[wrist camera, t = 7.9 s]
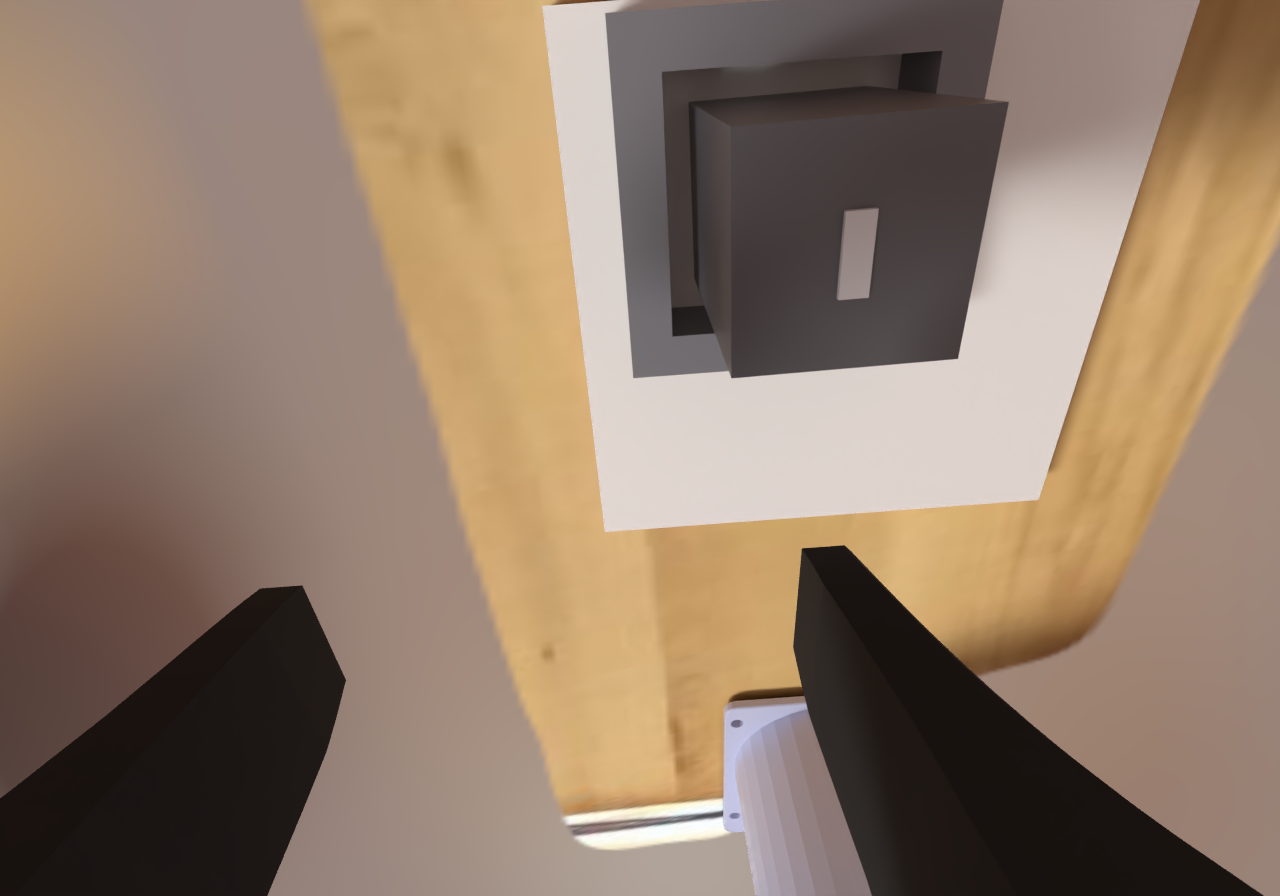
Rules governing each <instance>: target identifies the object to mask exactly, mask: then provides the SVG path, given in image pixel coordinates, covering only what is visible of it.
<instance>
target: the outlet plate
mask: <svg viewBox="0 0 1280 896" xmlns="http://www.w3.org/2000/svg"><path fill="white" fill-rule="evenodd" d="M1199 2H1200V0H615V1H601V2H588V3H575V4H562V5H549V6H542V7H543V15H544V24H545V32H546V41H547V49H548V57H549V66H550V74H551V83H552V91H553V99H554V108H555V116H556V125H557V133H558V141H559V150H560V158H561V167H562V175H563V183H564V192H565V200H566V209H567V217H568V225H569V234H570V242H571V251H572V259H573V267H574V276H575V284H576V293H577V301H578V309H579V318H580V326H581V335H582V343H583V351H584V360H585V368H586V377H587V385H588V394H589V402H590V410H591V419H592V427H593V436H594V444H595V452H596V461H597V469H598V478H599V486H600V494H601V503H602V511H603V520H604V528H605V532H610V531H624V530H637V529H651V528H664V527H678V526H691V525H705V524H718V523H732V522H745V521H759V520H772V519H786V518H799V517H813V516H826V515H840V514H853V513H867V512H880V511H894V510H907V509H921V508H934V507H948V506H961V505H975V504H989V503H1002V502H1016V501H1029V500H1039V497H1040V494H1041V491H1042V487H1043V484H1044V481H1045V478H1046V475H1047V472H1048V469H1049V466H1050V463H1051V460H1052V457H1053V453H1054V450H1055V447H1056V444H1057V441H1058V438H1059V435H1060V432H1061V429H1062V426H1063V423H1064V419H1065V416H1066V413H1067V410H1068V407H1069V404H1070V401H1071V398H1072V395H1073V392H1074V389H1075V385H1076V382H1077V379H1078V376H1079V373H1080V370H1081V367H1082V364H1083V361H1084V358H1085V355H1086V351H1087V348H1088V345H1089V342H1090V339H1091V336H1092V333H1093V330H1094V327H1095V324H1096V321H1097V317H1098V314H1099V311H1100V308H1101V305H1102V302H1103V299H1104V296H1105V293H1106V290H1107V287H1108V283H1109V280H1110V277H1111V274H1112V271H1113V268H1114V265H1115V262H1116V259H1117V256H1118V253H1119V249H1120V246H1121V243H1122V240H1123V237H1124V234H1125V231H1126V228H1127V225H1128V222H1129V219H1130V215H1131V212H1132V209H1133V206H1134V203H1135V200H1136V197H1137V194H1138V191H1139V188H1140V185H1141V181H1142V178H1143V175H1144V172H1145V169H1146V166H1147V163H1148V160H1149V157H1150V154H1151V151H1152V147H1153V144H1154V141H1155V138H1156V135H1157V132H1158V129H1159V126H1160V123H1161V120H1162V117H1163V113H1164V110H1165V107H1166V104H1167V101H1168V98H1169V95H1170V92H1171V89H1172V86H1173V83H1174V79H1175V76H1176V73H1177V70H1178V67H1179V64H1180V61H1181V58H1182V55H1183V52H1184V49H1185V45H1186V42H1187V39H1188V36H1189V33H1190V30H1191V27H1192V24H1193V21H1194V18H1195V15H1196V12H1197V8H1198V5H1199ZM859 86H873V87H882V88H891V89H900V90H909V91H917V92H926V93H935V94H944V95H953V96H962V97H971V98H979V99H988V100H997V101H1006V102H1009V104H1008V110H1007V115H1006V120H1005V125H1004V130H1003V135H1002V140H1001V145H1000V150H999V155H998V160H997V165H996V170H995V175H994V180H993V185H992V190H991V195H990V200H989V205H988V210H987V215H986V220H985V225H984V230H983V235H982V241H981V246H980V251H979V256H978V261H977V266H976V271H975V276H974V281H973V286H972V291H971V296H970V301H969V306H968V311H967V316H966V321H965V326H964V331H963V336H962V341H961V346H960V351H959V356H958V359H952V360H940V361H929V362H917V363H905V364H894V365H882V366H871V367H859V368H847V369H836V370H824V371H812V372H801V373H789V374H777V375H766V376H754V377H743V378H731V376H730V373H729V371H728V368H727V365H726V363H725V360H724V357H723V354H722V352H721V349H720V346H719V344H718V341H717V338H716V336H715V333H714V330H713V327H712V325H711V322H710V319H709V317H708V314H707V311H706V309H705V306H704V303H703V300H702V298H701V295H700V292H699V290H698V287H697V284H696V282H695V279H694V254H693V224H692V193H691V163H690V133H689V102H692V101H704V100H715V99H726V98H737V97H748V96H759V95H770V94H781V93H793V92H804V91H815V90H826V89H837V88H848V87H859Z"/></svg>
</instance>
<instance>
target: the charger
mask: <svg viewBox="0 0 1280 896" xmlns="http://www.w3.org/2000/svg"><path fill="white" fill-rule="evenodd" d="M1008 104H1009V102H1006V101H997V100H988V99H979V98H971V97H962V96H953V95H944V94H935V93H926V92H917V91H909V90H900V89H891V88H882V87H873V86H859V87H848V88H837V89H826V90H815V91H804V92H793V93H781V94H770V95H759V96H748V97H737V98H726V99H715V100H704V101H692V102H689V133H690V163H691V193H692V224H693V254H694V279H695V282H696V284H697V287H698V290H699V292H700V295H701V298H702V300H703V303H704V306H705V309H706V311H707V314H708V317H709V319H710V322H711V325H712V327H713V330H714V333H715V336H716V338H717V341H718V344H719V346H720V349H721V352H722V354H723V357H724V360H725V363H726V365H727V368H728V371H729V373H730V376H731V378H743V377H754V376H766V375H777V374H789V373H801V372H812V371H824V370H836V369H847V368H859V367H871V366H882V365H894V364H905V363H917V362H929V361H940V360H952V359H958V356H959V351H960V346H961V341H962V336H963V331H964V326H965V321H966V316H967V311H968V306H969V301H970V296H971V291H972V286H973V281H974V276H975V271H976V266H977V261H978V256H979V251H980V246H981V241H982V235H983V230H984V225H985V220H986V215H987V210H988V205H989V200H990V195H991V190H992V185H993V180H994V175H995V170H996V165H997V160H998V155H999V150H1000V145H1001V140H1002V135H1003V130H1004V125H1005V120H1006V115H1007V110H1008Z"/></svg>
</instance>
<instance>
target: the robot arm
mask: <svg viewBox="0 0 1280 896" xmlns="http://www.w3.org/2000/svg"><path fill="white" fill-rule="evenodd" d="M793 648H794V653H795V657H796V662H797V666H798V671H799V675H800V680H801V684H802V688H803V692H804V696H796V697H782V698H768V699H755V700H741V701H733V702H730V703H728V704H727V705H726V706H725V708H724V765H723V823H724V828H725V830H727V831H729V832H745V837H746V843H747V849H748V855H749V861H750V867H751V872H752V878H753V884H754V890H755V896H1263V895H1262V894H1260V893H1259V892H1258V891H1256V890H1255V889H1253V888H1251V887H1250V886H1249V885H1247V884H1246V883H1244V882H1243V881H1242V880H1240V879H1239V878H1237V877H1236V876H1234V875H1233V874H1231V873H1230V872H1228V871H1227V870H1225V869H1224V868H1222V867H1221V866H1220V865H1218V864H1217V863H1215V862H1214V861H1212V860H1211V859H1209V858H1208V857H1206V856H1205V855H1204V854H1202V853H1200V852H1199V851H1198V850H1196V849H1195V848H1193V847H1192V846H1190V845H1189V844H1187V843H1186V842H1184V841H1183V840H1182V839H1180V838H1179V837H1177V836H1176V835H1174V834H1173V833H1171V832H1170V831H1169V830H1167V829H1166V828H1165V827H1163V826H1162V825H1161V824H1159V823H1158V822H1156V821H1155V820H1154V819H1152V818H1151V817H1149V816H1148V815H1147V814H1145V813H1144V812H1143V811H1141V810H1140V809H1138V808H1137V807H1136V806H1134V805H1133V804H1132V803H1130V802H1129V801H1128V800H1126V799H1125V798H1124V797H1122V796H1121V795H1120V794H1119V793H1117V792H1116V791H1115V790H1113V789H1112V788H1111V787H1109V786H1108V785H1107V784H1106V783H1104V782H1103V781H1101V780H1100V779H1099V778H1098V777H1096V776H1095V775H1094V774H1092V773H1091V772H1090V771H1089V770H1087V769H1086V768H1085V767H1083V766H1082V765H1081V764H1080V763H1078V762H1077V761H1076V760H1074V759H1073V758H1072V757H1071V756H1069V755H1068V754H1067V753H1066V752H1064V751H1063V750H1062V749H1060V747H1058V746H1057V745H1056V744H1054V743H1053V742H1052V741H1051V740H1049V739H1048V738H1047V737H1046V736H1045V735H1044V734H1043V733H1041V732H1040V731H1039V730H1038V729H1036V728H1035V727H1034V726H1033V725H1032V724H1031V723H1029V722H1028V721H1027V720H1026V719H1025V718H1024V717H1023V716H1021V715H1020V714H1019V713H1018V712H1017V711H1016V710H1014V709H1013V708H1012V707H1011V706H1010V705H1009V704H1007V703H1006V702H1005V701H1004V700H1003V699H1002V698H1001V697H999V696H998V695H997V694H996V693H995V692H994V691H993V690H991V689H990V688H989V687H988V686H987V685H986V684H985V683H984V682H983V681H982V680H980V679H979V678H978V677H977V676H976V675H975V674H974V673H973V672H972V671H971V670H969V669H968V668H967V667H966V666H965V665H964V664H963V663H962V662H961V661H960V660H959V659H958V658H957V657H956V656H955V655H954V654H953V653H952V652H950V651H949V650H948V649H947V648H946V647H945V646H944V645H943V644H942V643H941V642H940V641H939V640H938V639H937V638H936V637H935V636H934V635H933V634H932V633H930V632H929V631H928V630H927V629H926V628H925V627H924V626H923V625H922V624H921V623H920V622H919V621H918V620H917V619H916V618H915V617H914V616H913V615H912V614H911V613H910V612H909V611H908V610H907V609H906V608H905V607H904V606H903V605H902V604H901V603H900V602H899V601H898V600H897V599H896V598H895V596H894V595H893V594H892V593H891V592H890V591H889V590H888V589H887V588H886V587H885V586H884V585H883V584H882V583H881V582H880V581H879V580H878V579H877V578H876V577H875V576H874V575H873V574H872V573H871V572H870V571H869V570H868V568H867V567H866V566H865V565H864V564H863V563H862V562H861V561H860V560H859V559H858V558H857V557H856V556H855V555H854V554H853V553H852V552H851V551H850V550H849V549H848V548H847V547H846V546H845V545H844V546H830V547H817V548H803V549H802V554H801V566H800V577H799V588H798V599H797V611H796V622H795V633H794V645H793ZM345 682H346V679H345V677H344V675H343V673H342V671H341V669H340V666H339V664H338V662H337V660H336V658H335V656H334V653H333V651H332V649H331V647H330V645H329V643H328V640H327V638H326V636H325V634H324V632H323V629H322V627H321V625H320V623H319V621H318V619H317V616H316V614H315V612H314V610H313V608H312V606H311V603H310V602H309V599H308V597H307V595H306V593H305V590H304V589H303V586H289V587H278V588H277V587H276V588H262V589H259V590H258V591H257V592H255V593H254V594H253V595H251V596H250V597H249V598H247V599H246V600H245V601H243V602H242V603H241V604H240V605H238V606H237V607H236V608H235V609H233V610H232V611H231V612H230V613H229V614H227V615H226V616H225V617H224V618H222V619H221V620H220V621H219V622H218V623H216V624H215V625H214V626H213V627H212V628H210V629H209V630H208V631H207V632H206V633H204V634H203V635H202V636H201V637H200V638H199V639H197V640H196V641H195V642H194V643H192V644H191V645H190V646H189V647H188V648H186V649H185V650H184V651H183V652H182V653H181V654H179V655H178V656H177V657H176V658H175V659H173V660H172V661H171V662H170V663H169V664H168V665H166V666H165V667H164V668H163V669H162V670H160V671H159V672H158V673H157V674H156V675H154V676H153V677H152V678H151V679H150V680H148V681H147V682H146V683H145V684H143V685H142V686H141V687H140V688H139V689H137V690H136V691H135V692H134V693H133V694H131V695H130V696H129V697H128V698H127V699H126V700H124V701H123V702H122V703H121V704H119V705H118V706H117V707H116V708H115V709H113V710H112V711H111V712H110V713H108V715H106V716H105V717H104V718H102V719H101V720H100V721H99V722H97V723H96V724H95V725H94V726H92V727H91V728H90V729H88V730H87V731H86V732H85V733H83V734H82V735H81V736H79V737H78V738H77V739H76V740H74V741H73V742H72V743H71V744H69V745H68V746H67V747H65V748H64V749H63V750H62V751H60V752H59V753H58V754H57V755H55V756H54V757H53V758H52V759H50V760H49V761H48V762H46V763H45V764H44V765H43V766H41V767H40V768H39V769H37V770H36V771H35V772H34V773H32V774H31V775H30V776H29V777H27V778H26V779H25V780H24V781H22V782H21V783H20V784H18V785H17V786H16V787H15V788H13V789H12V790H11V791H9V792H8V793H7V794H6V795H4V796H3V797H1V798H0V896H267V895H268V893H269V890H270V888H271V885H272V883H273V880H274V878H275V876H276V873H277V871H278V869H279V866H280V864H281V861H282V859H283V857H284V854H285V852H286V849H287V847H288V844H289V842H290V839H291V837H292V835H293V833H294V830H295V828H296V825H297V823H298V820H299V818H300V816H301V813H302V811H303V808H304V806H305V803H306V801H307V799H308V796H309V794H310V791H311V789H312V786H313V783H314V781H315V779H316V776H317V774H318V771H319V769H320V766H321V764H322V761H323V759H324V756H325V754H326V751H327V748H328V745H329V741H330V738H331V734H332V731H333V727H334V724H335V720H336V717H337V713H338V709H339V705H340V701H341V697H342V693H343V689H344V685H345Z"/></svg>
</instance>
